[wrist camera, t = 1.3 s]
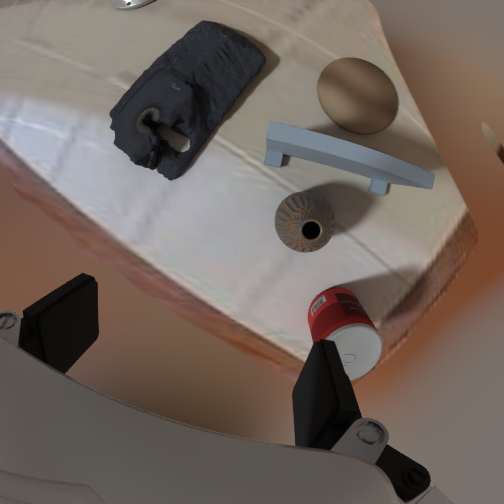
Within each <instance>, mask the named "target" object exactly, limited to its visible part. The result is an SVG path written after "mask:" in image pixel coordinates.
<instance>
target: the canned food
mask: <svg viewBox="0 0 504 504" xmlns="http://www.w3.org/2000/svg"><path fill="white" fill-rule="evenodd" d="M308 322H309V327H310V331H311V335H312V340H313V344H314V342H315V341H318V342H319V340H320V339H326V340H332V341H335V344H336V346H337V349H338V352H339V355H340V358H341V361H342V364H343V367H344V370H345V373H346V374H347V375H348V376H349V379H350V380H354V379H357V378H359V377H361V376H363V375H364V374H366V373H367V372H369V371H370V370H371V369H372V368H373V367H374V366H375V364H376V363H377V362H378V360H379V358H380V356H381V353H382V348H383V347H382V340H381V337H380V334H379V333H378V331H377V329H376V328H375V326H374V324H373V323H372V321H371V320H370V318H369V317H368V315H367V313H366V312H365V310H364V309H363V307H362V306H361V304H360V303H359V301H358V300H357V298H356V297H355V295H354V294H353V293H351V292H350V291H348V290H345V289H342V288H331V289H327V290H325V291H323V292H321V293H320V294H319V295H317V297H316V298H315V299H314V300H313V302H312V303H311V306H310V308H309V312H308Z"/></svg>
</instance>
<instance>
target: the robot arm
mask: <svg viewBox="0 0 504 504" xmlns="http://www.w3.org/2000/svg"><path fill="white" fill-rule="evenodd" d="M152 1H154V0H108V2H109V4H110V5H111V6H113V7H114V8H116V9H119V10H130V9H135V8H138V7H141V6H144V5H146V4H148V3H150V2H152ZM23 316H24V317H23V318H22V319H21V318H20V316H19V315H18V314H17V313H16V312H13V311H2V312H0V504H454V503H453V502H452V501H451V500H449V499H448V498H447V497H446V496H445V495H444V494H443V493H442V492H441V491H440V490H439V489H438V488H437V487H436V486H434V487H433V488H432V487H431V486H430V481H431V480H430V475H429V472H428V471H427V469H426V468H425V467H423V466H422V465H420V464H419V463H417V462H415V461H413V460H412V459H410V458H409V457H407V456H405V455H404V454H402V453H400V452H399V451H397V450H396V449H394V448H392V447H391V446H389V445H388V444H387V442H388V439H389V434H388V431H387V429H386V428H385V427H384V425H383V424H381V423H380V422H379V421H377V420H374V419H371V418H362V416H361V412H360V409H359V406H358V403H357V400H356V397H355V394H354V391H353V388H352V385H351V382H350V379H349V376H348V375H347V374H346V373H345V370H344V367H343V364H342V361H341V358H340V355H339V352H338V349H337V346H336V344H335V341H332V340H326V339H320V340H319V342H318V341H315V342H314V344H313V346H312V349H311V351H310V353H309V355H308V358H307V360H306V362H305V365H304V367H303V369H302V371H301V373H300V376H299V378H298V380H297V382H296V384H295V386H294V389H293V393H292V400H293V414H294V429H295V446H292V445H284V444H277V443H270V442H264V441H258V440H253V439H247V438H242V437H237V436H232V435H227V434H223V433H218V432H214V431H210V430H206V429H202V428H198V427H195V426H191V425H187V424H184V423H181V422H178V421H174V420H171V419H168V418H165V417H162V416H159V415H156V414H153V413H150V412H147V411H145V410H142V409H139V408H137V407H134V406H132V405H129V404H127V403H124V402H122V401H119V400H117V399H115V398H112V397H110V396H108V395H106V394H103V393H101V392H99V391H97V390H94V389H92V388H90V387H88V386H86V385H84V384H82V383H80V382H78V381H76V380H74V379H73V378H71V377H69V376H67V375H65V373H66V372H67V371H68V370H69V369H70V367H71V366H72V365H73V364H74V363H75V362H76V361H77V360H78V359H79V358H80V357H81V356H82V355H83V353H84V352H85V351H86V350H87V349H88V348H89V347H90V346H91V345H92V344H93V343H94V342H95V341H96V339H97V338H98V335H99V326H98V325H99V324H98V283H97V282H96V281H95V278H94V277H93V276H90V275H87V274H85V273H82V274H80V275H78V276H76V277H75V278H73V279H72V280H70V281H68V282H67V283H65V284H64V285H62V286H60V287H59V288H57V289H55V290H54V291H52V292H51V293H49V294H48V295H46V296H44V297H43V298H41V299H40V300H38V301H37V302H35V303H34V304H32V305H31V306H30V307H28V308H26V309H25V310H23Z"/></svg>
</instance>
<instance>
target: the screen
mask: <svg viewBox="0 0 504 504" xmlns="http://www.w3.org/2000/svg"><path fill="white" fill-rule="evenodd" d="M266 142H267V152H266V157H265V161H264V164H266V165H271V166H275V167H280V166H281V162H282V157H283V154H284V155H289V156H293V157H297V158H301V159H305V160H309V161H313V162H317V163H321V164H324V165H328V166H332V167H335V168H339V169H342V170H346V171H349V172H352V173H356V174H359V175H362V176H365V177H368V178H372V179H371V183H370V188H369V192H373V193H376V194H379V195H382V196H385V192H386V188H387V183H390V184H398V185H406V186H413V187H420V188H427V189H432V188H433V183H434V178H435V174H433V173H431V172H429V171H427V170H424V169H422V168H420V167H417V166H415V165H412V164H410V163H407V162H405V161H402V160H400V159H397V158H395V157H392V156H389V155H387V154H384V153H381V152H378V151H376V150H373V149H370V148H367V147H364V146H361V145H358V144H355V143H352V142H348V141H345V140H342V139H339V138H335V137H332V136H328V135H325V134H321V133H317V132H313V131H310V130H306V129H302V128H298V127H293V126H289V125H285V124H280V123H275V122H271V121H270V123H269V128H268V133H267V137H266Z"/></svg>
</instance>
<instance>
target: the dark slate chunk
mask: <svg viewBox="0 0 504 504" xmlns="http://www.w3.org/2000/svg"><path fill="white" fill-rule="evenodd" d="M265 62H266V59H265V57H264V55H263V53H262V51H261V50H260V49H258V48H257V47H256V45H254V44H253V43H251V42H250V41H249V40H248V39H247V38H245V37H243V36H241V35H239V34H238V33H236V32H235V31H233V30H231V29H228V28H226V27H222V26H220V25H219V24H217V23H214V22H207V21H201V22H200V23H198V24H197V25H196V26H195V27H193V28H192V29H190V30H189V31H188V32H187V33H186V34H185V35H184V37H182V38H181V39H179V40H178V41H177V42H176V43H175V44H173V45H172V46H171V47H170V48H169V49H168V50H167V51H165V52H164V53H163V54H162V55H161V56H160V57H158V58H157V59H156V60H155V61H154V62H153V64H152V65H151V66H150V67H149V68H148V69H147V70H145V71H144V72H143V74H142V75H141V76H140V77H139V78H138V79H137V80H136V81H135V82H134V84H133V85H132V86H131V87H130V89H129V90H128V91H127V92H126V93H125V94H124V95H123V96H122V98H121V99H120V101H119V102H118V103H117V104H116V105H115V106H114V108H113V109H112V110H111V111H110V117H111V118H112V124H111V126H110V128H111V129H112V130H114V131H115V140H114V144H115V146H117V147H118V148H119V149H121V150H122V151H123V152H124V153H126V154H127V155H128V156H129V157H130V160H131V161H132V162H134V164H136V165H139V166H143V167H145V168H150V169H151V170H154V169H155V167H157V171H158V173H160V174H163V175H164V177H166V178H168V179H169V180H170V181H171V180H173V179H176V178H178V177H179V176H180V174H181V172H182V171H183V170H185V168H186V167H187V166H188V164H189V162H190V161H191V160H192V158H193V157H194V155H195V154H196V153H197V152H198V151H199V149H200V148H201V146H202V145H203V144H204V143H205V141H206V140H207V137H208V136H210V135H211V133H212V132H213V129H214V128H215V127H216V126H217V124H218V122H219V121H221V120H222V119H223V116H224V115H225V114H226V113H227V112H228V111H229V110H230V108H231V107H232V106H233V104H234V102H235V101H236V99H235V98H237V97H239V96H240V94H241V93H242V92H243V89H244V88H246V86H247V85H248V83H249V82H250V80H251V79H252V78H253V77H254V76H256V75H257V74H258V73H259V72H260V71H261V69H262V67H263V65H264V64H265ZM162 124H166V125H167V126H171V129H172V130H174V131H175V132H177V133H179V134H181V135H184V136H186V137H187V138H189V139H190V148H189V150H187V151H185V152H182V153H180V152H177V151H176V150H175V149H173V148H172V147H171V146H170V145H169V143H168V141H167V140H161V139H162V137H161V136H160V134H159V133H158V132H156V128H159V126H161V125H162ZM155 164H156V165H155ZM157 165H158V166H157Z"/></svg>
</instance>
